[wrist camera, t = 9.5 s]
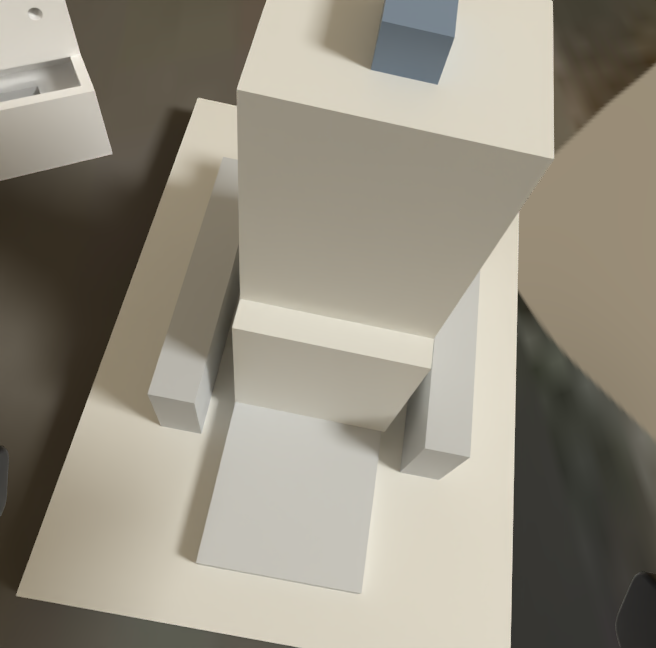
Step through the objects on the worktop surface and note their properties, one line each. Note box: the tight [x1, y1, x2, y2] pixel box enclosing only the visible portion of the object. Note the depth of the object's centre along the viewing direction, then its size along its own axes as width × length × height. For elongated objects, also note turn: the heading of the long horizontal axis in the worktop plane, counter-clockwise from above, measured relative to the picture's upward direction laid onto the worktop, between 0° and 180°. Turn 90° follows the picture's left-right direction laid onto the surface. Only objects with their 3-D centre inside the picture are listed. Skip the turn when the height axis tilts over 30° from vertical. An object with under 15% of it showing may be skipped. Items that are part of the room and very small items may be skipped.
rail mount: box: [16, 98, 519, 648], centre depth 19 cm, size 18×13×4 cm
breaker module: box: [232, 0, 554, 432], centre depth 14 cm, size 5×4×12 cm
